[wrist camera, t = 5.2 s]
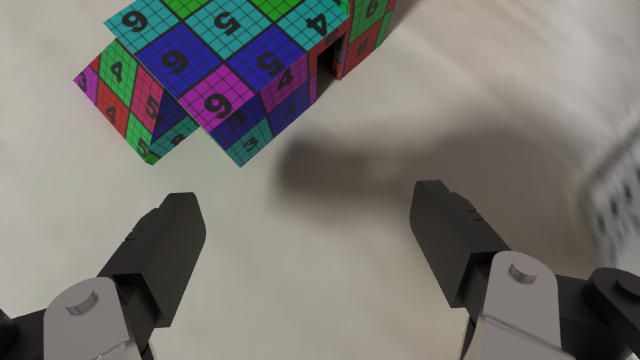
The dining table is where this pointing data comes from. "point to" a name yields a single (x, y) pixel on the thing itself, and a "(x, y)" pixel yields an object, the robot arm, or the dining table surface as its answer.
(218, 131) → the building blocks
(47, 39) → the dining table surface
